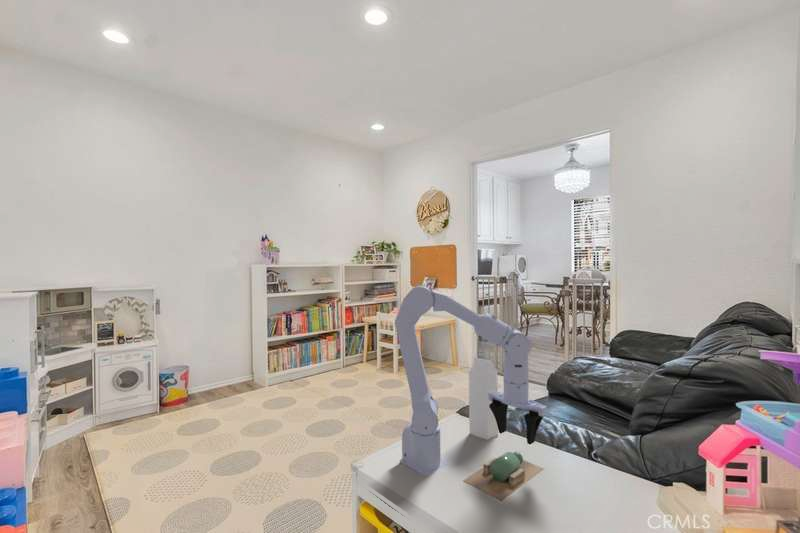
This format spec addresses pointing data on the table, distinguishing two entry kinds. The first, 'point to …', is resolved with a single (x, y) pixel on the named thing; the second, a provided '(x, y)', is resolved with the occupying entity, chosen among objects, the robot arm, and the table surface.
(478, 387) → the milk
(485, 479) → the rest board
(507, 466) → the bottle
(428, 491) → the table surface
